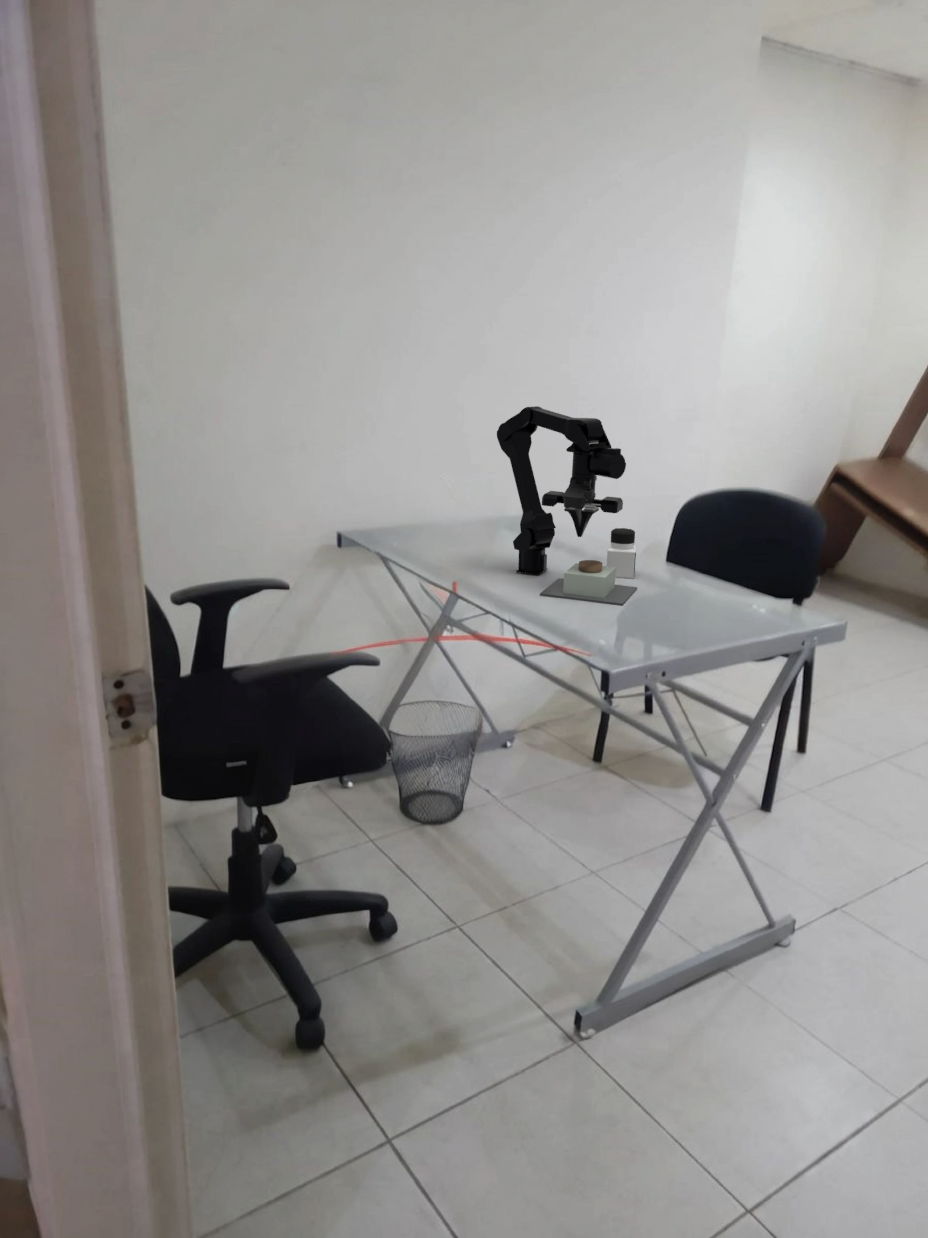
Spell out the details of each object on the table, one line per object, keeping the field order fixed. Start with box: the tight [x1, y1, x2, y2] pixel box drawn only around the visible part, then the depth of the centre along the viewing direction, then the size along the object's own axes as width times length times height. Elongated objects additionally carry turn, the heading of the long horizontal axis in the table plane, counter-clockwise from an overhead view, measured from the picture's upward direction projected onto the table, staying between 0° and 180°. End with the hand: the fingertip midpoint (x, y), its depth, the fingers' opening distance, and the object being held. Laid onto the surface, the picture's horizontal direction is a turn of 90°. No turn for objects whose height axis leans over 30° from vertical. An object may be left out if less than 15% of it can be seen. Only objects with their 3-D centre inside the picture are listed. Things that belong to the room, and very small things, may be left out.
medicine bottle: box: [606, 527, 637, 579], centre depth 222 cm, size 7×7×12 cm
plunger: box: [578, 559, 603, 572], centre depth 207 cm, size 6×6×6 cm
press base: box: [539, 562, 638, 606], centre depth 207 cm, size 20×15×6 cm
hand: (579, 536), depth 210 cm, fingers closed
